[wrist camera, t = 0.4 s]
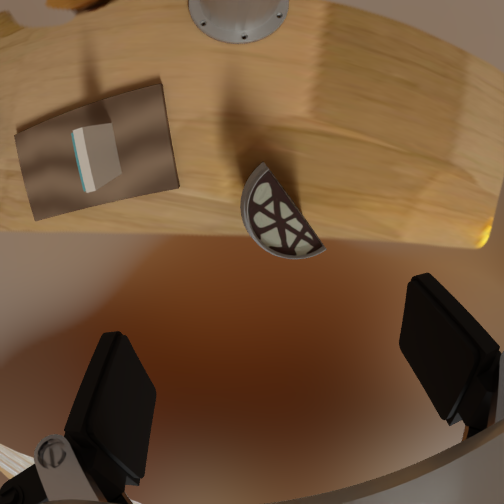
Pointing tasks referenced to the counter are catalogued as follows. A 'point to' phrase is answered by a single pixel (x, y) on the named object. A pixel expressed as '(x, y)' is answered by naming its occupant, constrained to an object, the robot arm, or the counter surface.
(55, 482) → the robot arm
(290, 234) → the food container
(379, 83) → the counter surface
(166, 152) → the board
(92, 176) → the tile
